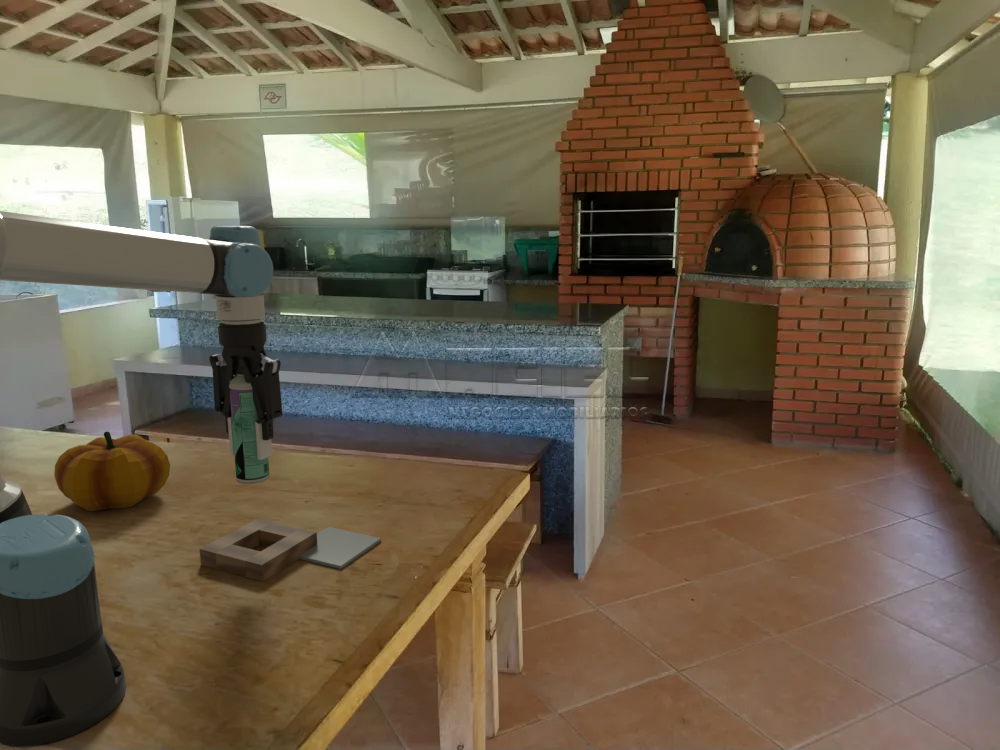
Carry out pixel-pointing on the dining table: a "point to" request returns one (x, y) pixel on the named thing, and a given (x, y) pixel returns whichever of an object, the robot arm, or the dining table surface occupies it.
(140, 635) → the dining table surface
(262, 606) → the dining table surface
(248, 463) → the spray can
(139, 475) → the decorative pumpkin
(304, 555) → the slate tile
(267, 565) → the eye block
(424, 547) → the dining table surface
